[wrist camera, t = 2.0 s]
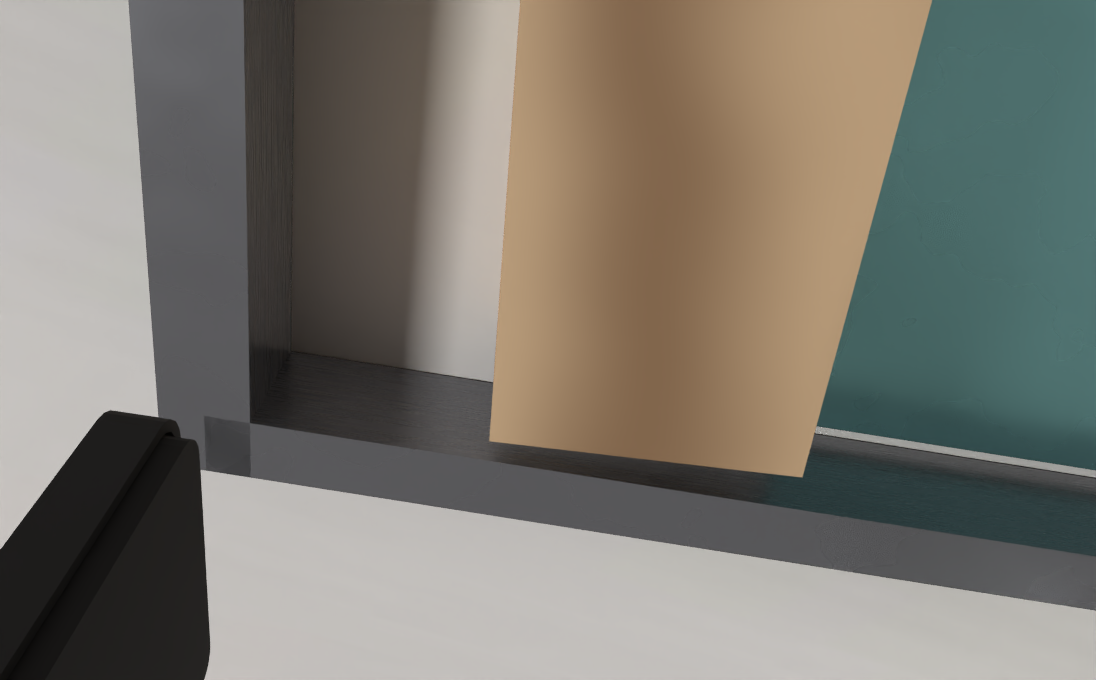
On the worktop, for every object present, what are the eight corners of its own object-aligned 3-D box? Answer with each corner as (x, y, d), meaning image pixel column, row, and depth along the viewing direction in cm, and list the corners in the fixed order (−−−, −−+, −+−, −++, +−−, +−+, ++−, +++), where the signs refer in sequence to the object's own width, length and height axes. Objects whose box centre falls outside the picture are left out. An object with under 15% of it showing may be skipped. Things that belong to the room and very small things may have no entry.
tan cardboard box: (868, -67, 19) (935, -11, 15) (772, 343, 24) (802, 477, 19) (549, -101, 19) (524, -55, 15) (516, 314, 24) (489, 441, 20)
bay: (1528, -178, 17) (1684, -163, 15) (1123, 533, 25) (1178, 623, 23) (178, -397, 17) (98, -420, 15) (210, 389, 25) (162, 463, 23)
